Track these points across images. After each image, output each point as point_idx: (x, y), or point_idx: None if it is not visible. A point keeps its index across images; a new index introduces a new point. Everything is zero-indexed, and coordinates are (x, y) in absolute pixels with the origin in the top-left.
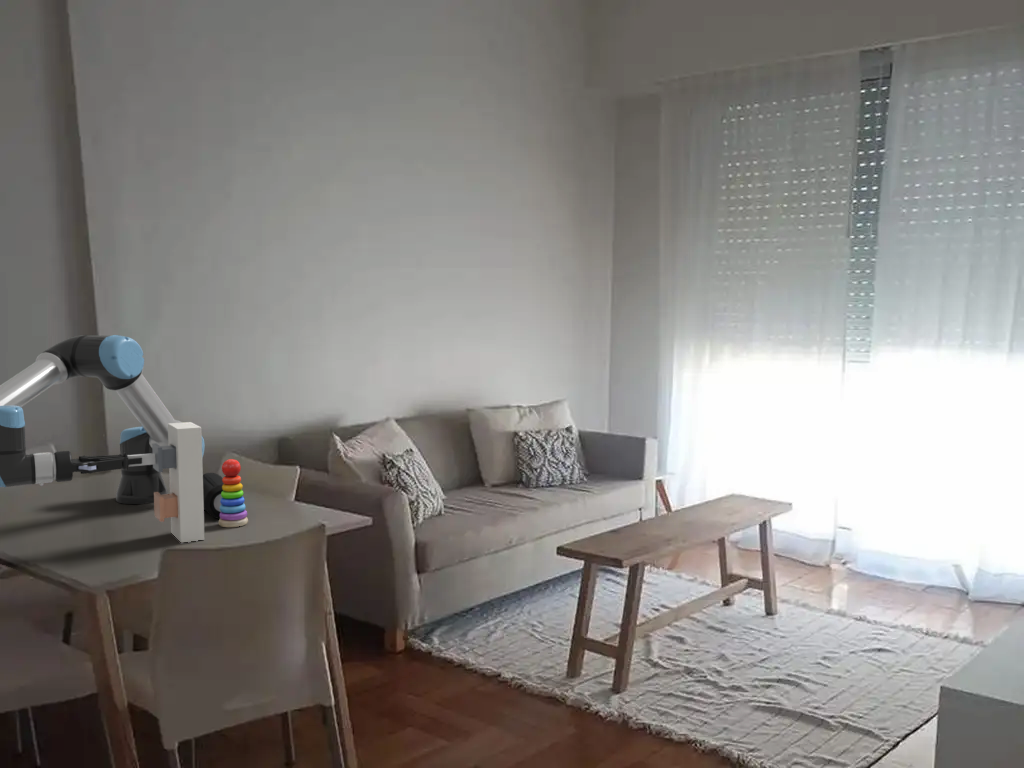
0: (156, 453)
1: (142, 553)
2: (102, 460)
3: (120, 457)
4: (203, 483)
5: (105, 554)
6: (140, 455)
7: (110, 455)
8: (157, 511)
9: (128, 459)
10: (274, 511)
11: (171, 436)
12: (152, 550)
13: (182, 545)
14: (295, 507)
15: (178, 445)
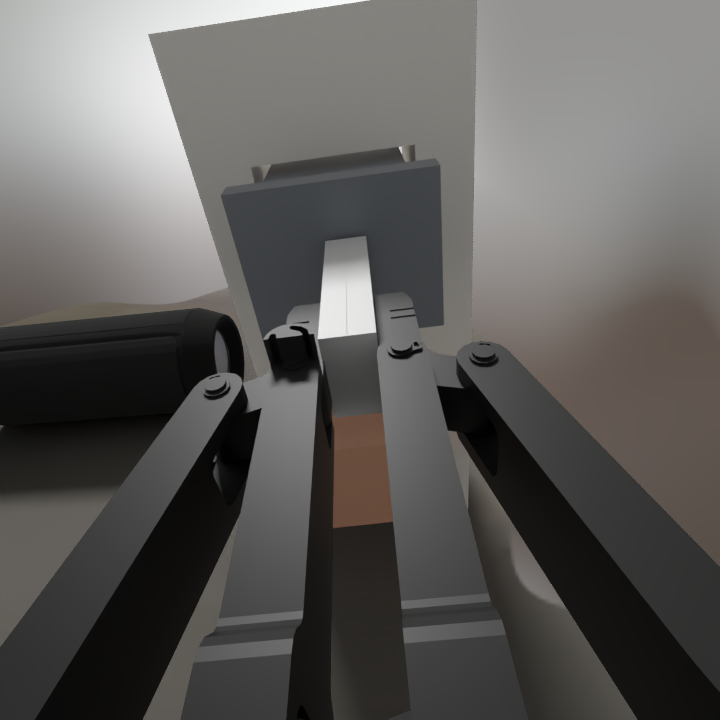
0: (381, 225)
1: (595, 657)
2: (478, 572)
3: (386, 382)
4: (59, 359)
5: None
6: (369, 281)
7: (164, 465)
8: (388, 499)
9: (430, 350)
10: (235, 321)
11: (281, 107)
12: (548, 611)
13: (496, 506)
14: (231, 297)
15: (473, 116)
